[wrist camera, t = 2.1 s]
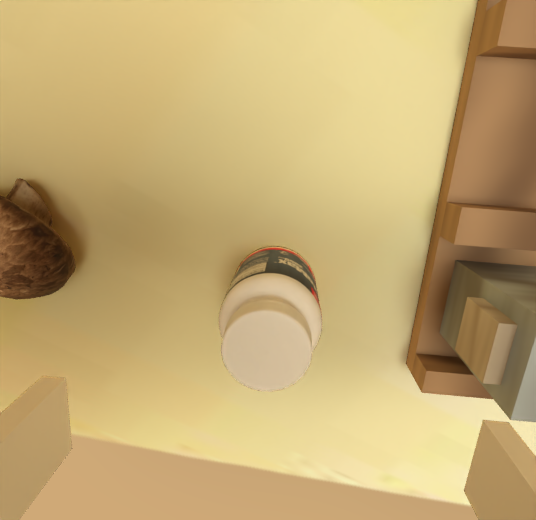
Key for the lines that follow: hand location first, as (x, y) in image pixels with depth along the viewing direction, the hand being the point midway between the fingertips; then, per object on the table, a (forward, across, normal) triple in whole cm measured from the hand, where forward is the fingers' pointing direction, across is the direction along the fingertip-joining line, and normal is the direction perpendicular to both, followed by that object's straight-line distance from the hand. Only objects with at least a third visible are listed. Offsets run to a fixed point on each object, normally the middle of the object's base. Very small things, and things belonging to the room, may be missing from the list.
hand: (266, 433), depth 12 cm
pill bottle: (+14, 0, 0) cm, 14 cm away
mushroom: (+14, -16, +2) cm, 21 cm away
